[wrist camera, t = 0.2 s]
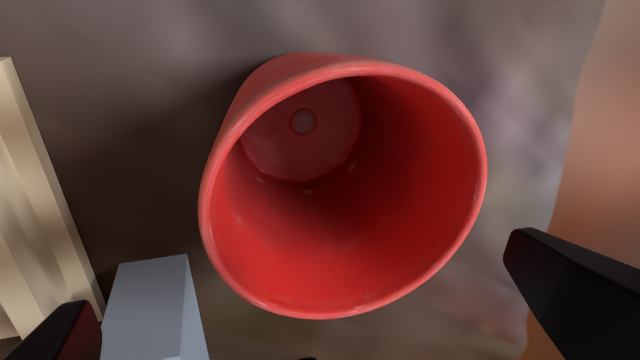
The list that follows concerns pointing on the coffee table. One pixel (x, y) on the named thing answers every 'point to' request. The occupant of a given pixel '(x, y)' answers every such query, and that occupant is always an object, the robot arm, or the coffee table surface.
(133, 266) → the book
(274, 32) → the coffee table surface
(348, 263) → the flower pot
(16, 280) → the rack
